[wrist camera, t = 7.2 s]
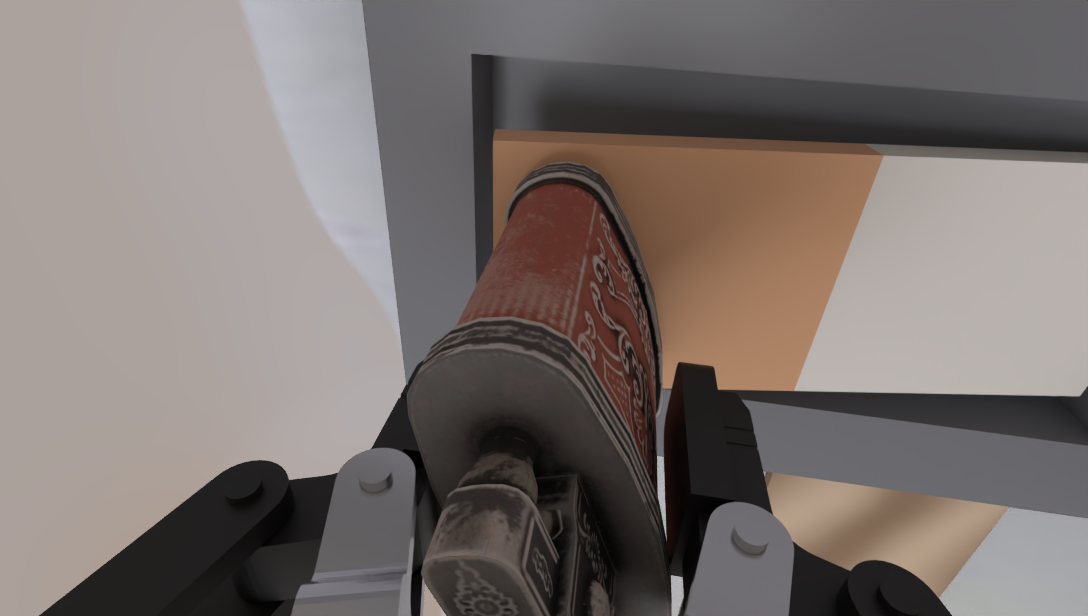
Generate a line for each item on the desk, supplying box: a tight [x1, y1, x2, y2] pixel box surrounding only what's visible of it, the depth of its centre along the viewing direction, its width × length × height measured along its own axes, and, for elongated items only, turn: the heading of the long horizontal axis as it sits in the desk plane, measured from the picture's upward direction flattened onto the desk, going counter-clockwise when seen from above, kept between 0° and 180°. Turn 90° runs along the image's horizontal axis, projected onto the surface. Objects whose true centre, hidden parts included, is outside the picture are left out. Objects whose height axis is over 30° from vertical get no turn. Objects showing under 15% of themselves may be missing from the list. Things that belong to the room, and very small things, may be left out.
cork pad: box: [765, 472, 1009, 598], centre depth 28 cm, size 10×10×1 cm
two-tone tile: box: [493, 129, 1088, 396], centre depth 17 cm, size 20×8×1 cm, turn 87°
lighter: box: [407, 161, 672, 616], centre depth 11 cm, size 8×3×10 cm, turn 18°
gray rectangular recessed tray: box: [362, 0, 1088, 518], centre depth 19 cm, size 28×18×3 cm, turn 88°
